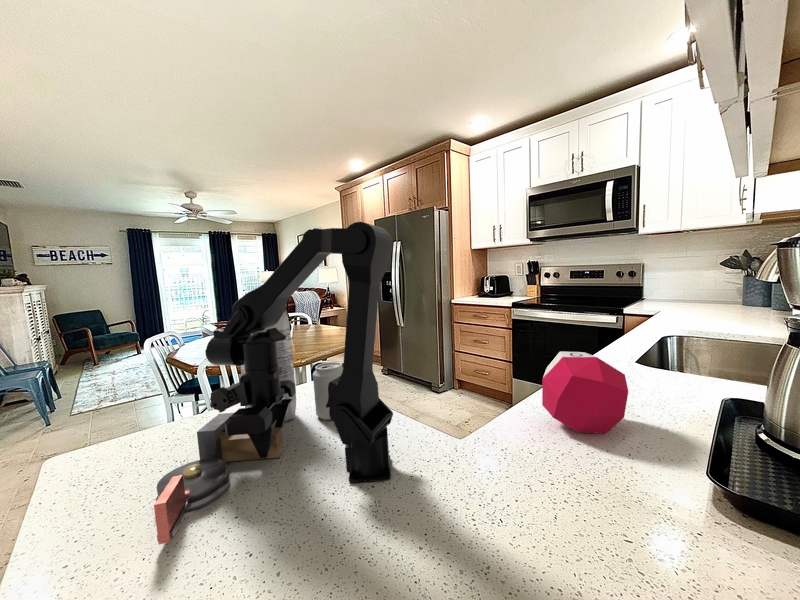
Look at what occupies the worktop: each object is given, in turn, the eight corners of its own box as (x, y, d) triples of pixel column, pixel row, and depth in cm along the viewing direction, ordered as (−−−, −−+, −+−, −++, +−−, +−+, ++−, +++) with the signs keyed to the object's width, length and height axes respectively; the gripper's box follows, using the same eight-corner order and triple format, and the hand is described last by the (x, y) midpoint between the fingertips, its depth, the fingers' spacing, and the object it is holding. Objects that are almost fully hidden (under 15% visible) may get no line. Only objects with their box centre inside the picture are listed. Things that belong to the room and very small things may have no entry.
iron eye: (238, 447, 64) (234, 412, 64) (218, 469, 57) (214, 430, 57) (222, 448, 64) (218, 413, 64) (201, 471, 57) (196, 431, 56)
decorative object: (565, 365, 55) (548, 330, 69) (535, 434, 61) (525, 389, 74) (660, 392, 53) (623, 350, 67) (621, 461, 58) (594, 409, 72)
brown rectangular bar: (283, 447, 63) (282, 427, 63) (277, 457, 59) (275, 435, 59) (211, 453, 62) (209, 433, 62) (201, 463, 59) (199, 442, 59)
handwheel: (206, 532, 41) (202, 494, 41) (119, 554, 38) (114, 513, 38) (232, 465, 56) (229, 436, 56) (171, 477, 54) (168, 447, 53)
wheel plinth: (240, 472, 56) (239, 466, 56) (210, 512, 46) (209, 505, 46) (182, 477, 55) (181, 471, 55) (139, 518, 46) (138, 511, 46)
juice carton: (300, 419, 76) (290, 302, 74) (251, 433, 70) (239, 307, 68) (289, 407, 83) (280, 301, 82) (244, 420, 78) (233, 306, 76)
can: (335, 406, 83) (331, 359, 82) (355, 412, 78) (351, 362, 77) (309, 417, 77) (305, 366, 76) (330, 424, 72) (325, 370, 71)
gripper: (239, 357, 69) (246, 429, 70) (185, 386, 50) (196, 484, 51) (293, 353, 69) (299, 425, 70) (259, 380, 51) (268, 477, 52)
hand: (269, 448), depth 61 cm, fingers open, 6 cm apart
